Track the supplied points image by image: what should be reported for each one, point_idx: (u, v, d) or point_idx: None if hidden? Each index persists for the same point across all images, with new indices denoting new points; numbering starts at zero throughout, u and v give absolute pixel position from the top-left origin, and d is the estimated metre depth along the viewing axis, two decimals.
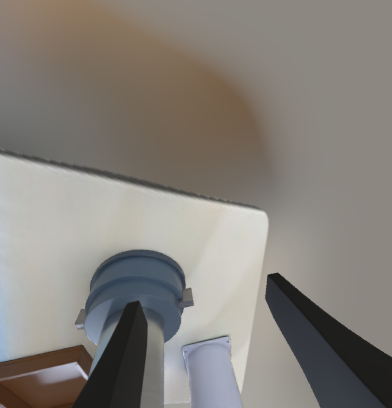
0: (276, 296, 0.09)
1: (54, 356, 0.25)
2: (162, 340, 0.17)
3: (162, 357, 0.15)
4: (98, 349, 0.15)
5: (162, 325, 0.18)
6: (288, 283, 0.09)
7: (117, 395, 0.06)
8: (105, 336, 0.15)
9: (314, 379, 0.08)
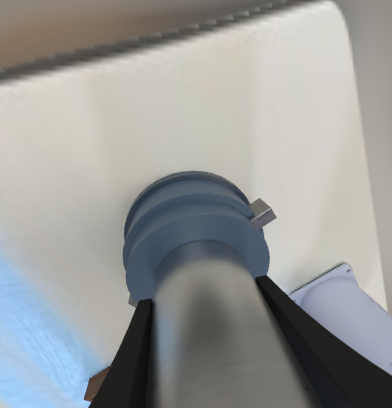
0: None
1: None
2: (249, 275, 0.09)
3: (261, 298, 0.08)
4: (152, 318, 0.09)
5: (239, 257, 0.10)
6: (275, 286, 0.09)
7: (135, 391, 0.06)
8: (155, 296, 0.09)
9: None
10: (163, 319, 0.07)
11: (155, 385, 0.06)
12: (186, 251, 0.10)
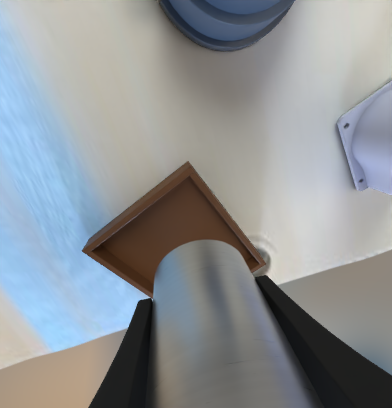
0: None
1: (159, 185, 0.17)
2: (249, 274, 0.09)
3: (262, 297, 0.08)
4: None
5: (239, 256, 0.10)
6: (275, 286, 0.09)
7: (135, 391, 0.06)
8: (155, 296, 0.09)
9: None
10: (163, 318, 0.07)
11: (155, 384, 0.06)
12: (186, 251, 0.10)
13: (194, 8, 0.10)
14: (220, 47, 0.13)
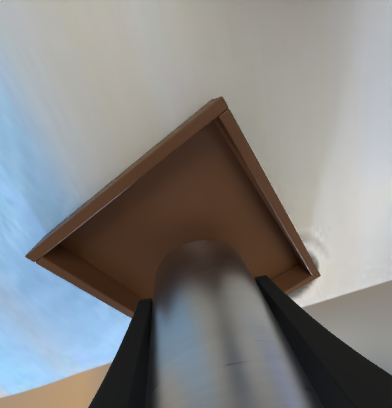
0: None
1: (162, 141, 0.10)
2: (249, 275, 0.09)
3: (262, 297, 0.08)
4: None
5: (239, 256, 0.10)
6: (275, 286, 0.09)
7: (135, 391, 0.06)
8: (155, 296, 0.09)
9: None
10: (163, 319, 0.07)
11: (155, 385, 0.06)
12: (186, 251, 0.10)
13: None
14: None
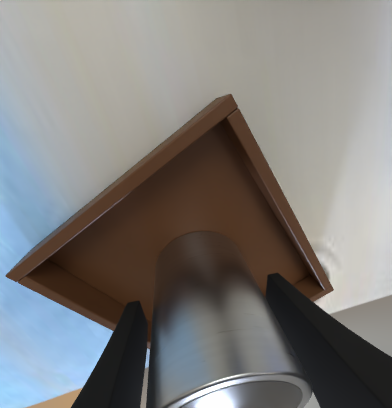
0: (276, 296, 0.09)
1: (161, 145, 0.08)
2: (243, 262, 0.10)
3: (254, 281, 0.09)
4: (153, 301, 0.09)
5: (234, 247, 0.11)
6: (288, 283, 0.09)
7: (117, 395, 0.06)
8: (156, 282, 0.10)
9: (314, 379, 0.08)
10: (164, 299, 0.08)
11: (157, 353, 0.07)
12: (185, 241, 0.10)
13: None
14: None
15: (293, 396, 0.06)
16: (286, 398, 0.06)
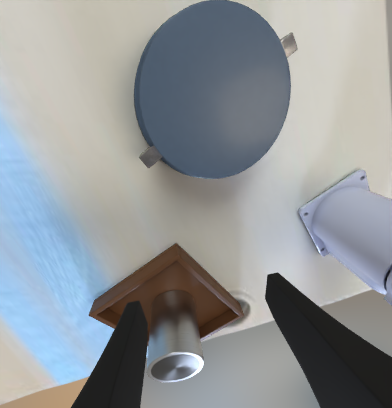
0: (276, 296, 0.09)
1: (153, 263, 0.21)
2: (190, 307, 0.22)
3: (192, 317, 0.21)
4: (150, 325, 0.22)
5: (188, 297, 0.24)
6: (288, 283, 0.09)
7: (117, 395, 0.06)
8: (151, 316, 0.22)
9: (314, 379, 0.08)
10: (154, 326, 0.21)
11: (150, 346, 0.19)
12: (164, 296, 0.23)
13: (176, 170, 0.14)
14: None
15: (195, 360, 0.19)
16: (193, 361, 0.19)
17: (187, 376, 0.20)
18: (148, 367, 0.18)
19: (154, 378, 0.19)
